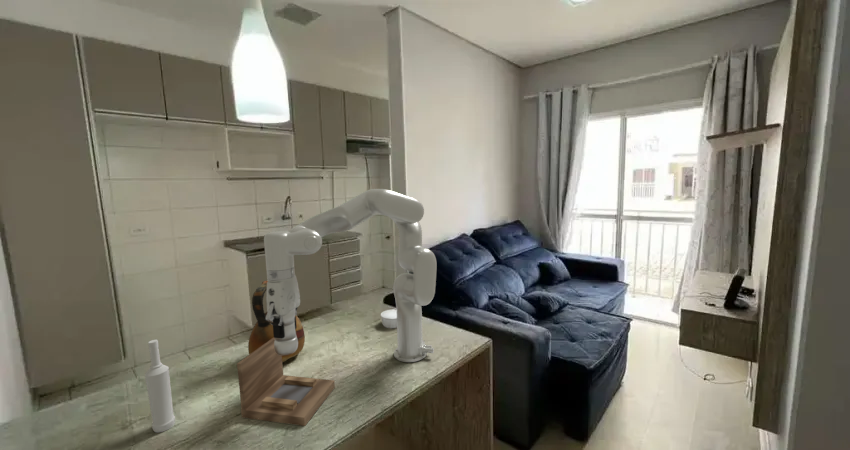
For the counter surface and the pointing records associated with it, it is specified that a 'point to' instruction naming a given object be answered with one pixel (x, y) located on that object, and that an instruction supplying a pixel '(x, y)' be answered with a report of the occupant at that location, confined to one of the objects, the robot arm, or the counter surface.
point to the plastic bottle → (287, 333)
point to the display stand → (278, 389)
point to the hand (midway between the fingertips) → (285, 332)
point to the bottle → (159, 391)
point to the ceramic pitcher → (268, 326)
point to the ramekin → (389, 318)
